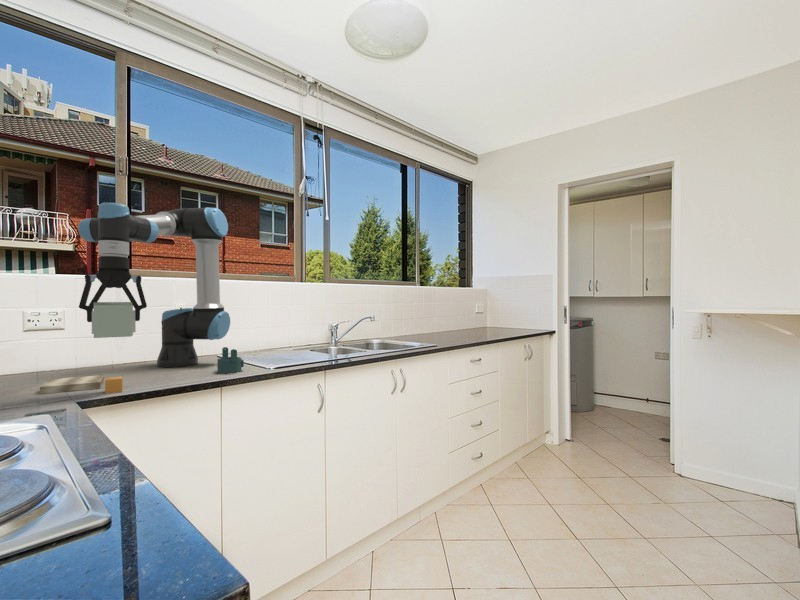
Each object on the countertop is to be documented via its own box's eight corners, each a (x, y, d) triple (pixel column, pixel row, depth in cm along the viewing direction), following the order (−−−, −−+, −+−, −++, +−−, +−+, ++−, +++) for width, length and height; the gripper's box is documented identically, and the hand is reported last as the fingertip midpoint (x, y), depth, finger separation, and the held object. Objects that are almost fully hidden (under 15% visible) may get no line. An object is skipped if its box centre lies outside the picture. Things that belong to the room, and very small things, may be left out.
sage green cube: (133, 334, 128) (132, 302, 128) (131, 336, 121) (131, 302, 121) (97, 335, 124) (97, 302, 124) (93, 338, 116) (93, 302, 116)
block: (122, 389, 125) (122, 376, 125) (122, 392, 121) (121, 378, 121) (106, 391, 123) (106, 377, 123) (105, 393, 119) (105, 380, 119)
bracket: (234, 374, 150) (234, 349, 150) (211, 373, 152) (211, 349, 152) (247, 370, 159) (247, 347, 159) (225, 369, 161) (225, 346, 161)
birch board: (104, 380, 138) (104, 374, 138) (100, 388, 126) (99, 382, 126) (50, 385, 131) (50, 379, 131) (39, 394, 119) (39, 387, 119)
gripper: (64, 253, 113) (65, 335, 113) (157, 257, 124) (157, 332, 124) (69, 255, 120) (69, 333, 120) (156, 259, 131) (156, 330, 131)
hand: (114, 332), depth 122 cm, fingers closed on sage green cube, 9 cm apart
